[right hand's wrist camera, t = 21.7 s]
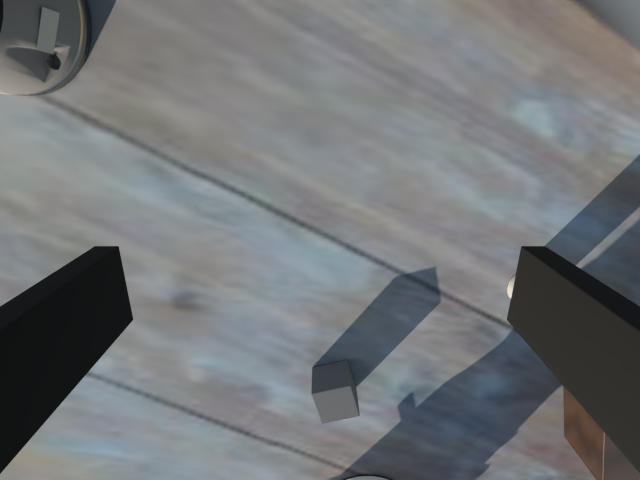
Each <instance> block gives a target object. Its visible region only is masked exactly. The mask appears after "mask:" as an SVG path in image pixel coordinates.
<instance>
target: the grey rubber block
mask: <svg viewBox="0 0 640 480" xmlns="http://www.w3.org/2000/svg"><path fill="white" fill-rule="evenodd" d="M312 397H313V400H314V402H315V405H316V408H317V411H318V414H319V417H320V420H321V423H322V424H323V423H328V422H332V421H337V420H342V419H347V418H352V417H357V416H360V415H359V407H358V399H357V391H356V386H355V382H354V379H353V376H352V372H351V369H350V365H349V362H348V360H344V361H339V362H335V363H330V364H326V365H321V366H316V367H312Z"/></svg>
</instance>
